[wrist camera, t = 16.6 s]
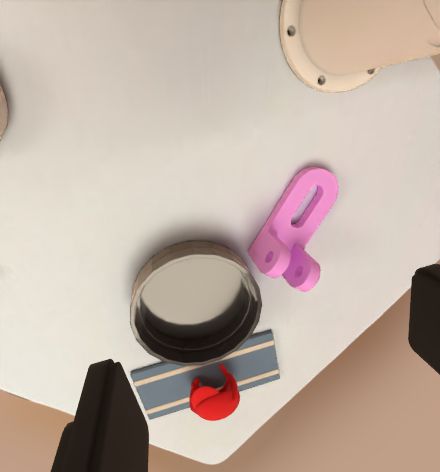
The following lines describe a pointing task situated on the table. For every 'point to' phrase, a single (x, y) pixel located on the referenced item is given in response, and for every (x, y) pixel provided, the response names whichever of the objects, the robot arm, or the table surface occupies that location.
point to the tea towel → (205, 376)
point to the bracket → (295, 230)
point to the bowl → (194, 304)
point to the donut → (3, 113)
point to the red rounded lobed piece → (214, 398)
